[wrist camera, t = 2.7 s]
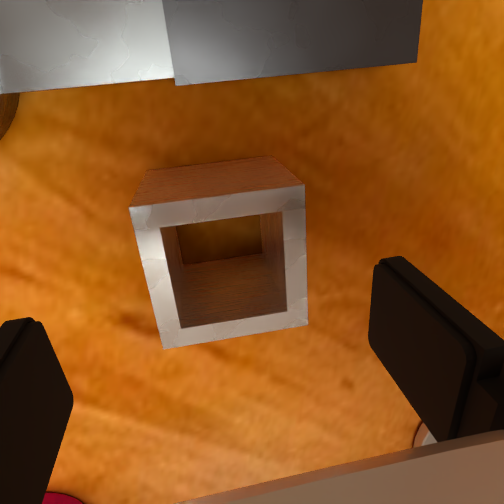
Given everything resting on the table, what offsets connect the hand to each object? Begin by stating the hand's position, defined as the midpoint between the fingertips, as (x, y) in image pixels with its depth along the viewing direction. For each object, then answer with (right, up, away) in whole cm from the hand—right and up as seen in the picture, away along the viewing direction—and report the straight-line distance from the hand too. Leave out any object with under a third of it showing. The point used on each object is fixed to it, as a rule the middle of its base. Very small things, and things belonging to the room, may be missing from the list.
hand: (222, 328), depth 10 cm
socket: (-1, +4, +10) cm, 10 cm away
